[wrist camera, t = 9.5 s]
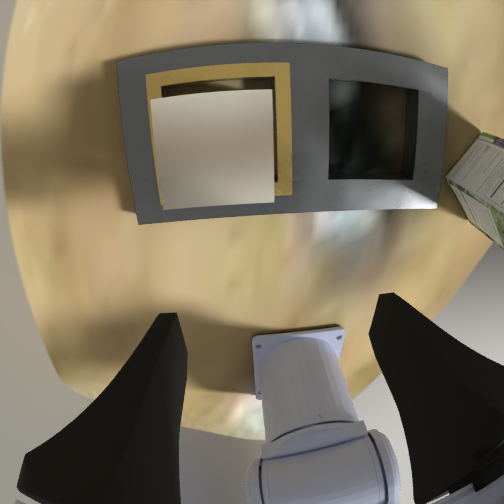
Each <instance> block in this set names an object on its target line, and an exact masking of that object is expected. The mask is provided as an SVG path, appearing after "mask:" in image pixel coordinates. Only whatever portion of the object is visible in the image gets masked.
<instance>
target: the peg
mask: <svg viewBox="0 0 504 504" xmlns="http://www.w3.org/2000/svg"><path fill="white" fill-rule="evenodd" d="M150 101H151V113H152V124H153V134H154V143H155V152H156V160H157V168H158V176H159V183H160V190H161V197H162V204H163V210H168V209H180V208H192V207H205V206H219V205H234V204H251V203H270V202H274V142H273V102H272V89H267V90H236V91H220V92H208V93H197V94H188V95H179V96H172V97H164V98H158V99H151V100H150Z"/></svg>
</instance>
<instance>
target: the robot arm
mask: <svg viewBox="0 0 504 504" xmlns="http://www.w3.org/2000/svg"><path fill="white" fill-rule="evenodd" d="M337 336H338V337H337ZM344 336H345V329H344V327H333V328H325V329H317V330H309V331H300V332H290V333H280V334H269V335H257V336H254V337H253V338H252V348H253V363H254V377H255V392H256V399H258V400H262V407H263V416H264V426H265V435H266V444H263V445H261V451H262V457H256V458H254V459H253V461H252V463H251V464H250V466H249V467H248V468H247V472H246V495H247V502H248V504H400V502H399V492H400V488H401V482H400V481H401V480H400V473H399V467H398V463H397V459H396V456H395V453H394V451H393V448H392V446H391V444H390V441H389V440H388V438H387V437H386V436H385V435H384V434H382V433H380V432H379V431H378V430H376V429H373V430H370V431H367V429H366V426H365V423H364V421H359V420H358V417H357V414H356V411H355V408H354V405H353V402H352V399H351V396H350V393H349V390H348V387H347V384H346V381H345V378H344V375H343V372H342V369H341V366H340V364H339V359H340V354H341V350H342V346H343V341H344ZM369 337H370V341H371V344H372V347H373V351H374V354H375V357H376V359H377V362H378V364H379V366H380V368H381V371H382V373H383V375H384V377H385V379H386V382H387V384H388V386H389V389H390V391H391V393H392V395H393V398H394V400H395V402H396V405H397V408H398V411H399V413H400V417H401V421H402V425H403V428H404V432H405V436H406V441H407V446H408V451H409V456H410V463H411V470H412V478H413V496H414V502H415V504H427V503H429V502H431V501H433V500H435V499H437V498H440V497H442V496H444V495H446V494H448V493H449V494H450V495H449V496H446V497H445V498H442V499H440V500H438V501H436V502H434V503H432V504H504V366H503V365H501V364H499V363H496V362H494V361H492V360H490V359H488V358H486V357H485V356H483V355H481V354H479V353H477V352H476V351H474V350H472V349H470V348H469V347H467V346H466V345H464V344H462V343H461V342H459V341H458V340H457V339H455V338H454V337H452V336H451V335H449V334H448V333H447V332H445V331H444V330H442V329H441V328H440V327H438V326H437V325H436V324H434V323H433V322H432V321H430V320H429V319H428V318H427V317H425V316H424V315H423V314H421V313H420V312H419V311H418V310H416V309H415V308H414V307H412V306H411V305H410V304H409V303H407V302H406V301H405V300H403V299H402V298H401V297H399V296H398V295H396V294H395V293H386V294H379V298H378V301H377V305H376V309H375V313H374V317H373V320H372V324H371V327H370V331H369ZM258 344H259V345H258ZM187 354H188V352H187V349H186V345H185V342H184V338H183V334H182V331H181V327H180V323H179V320H178V316H177V313H160V314H159V315H158V316H157V318H156V319H155V321H154V322H153V324H152V325H151V327H150V328H149V330H148V331H147V333H146V334H145V336H144V337H143V339H142V341H141V342H140V343H139V345H138V346H137V348H136V349H135V351H134V352H133V354H132V355H131V356H130V358H129V359H128V361H127V362H126V363H125V365H124V366H123V367H122V368H121V370H120V371H119V372H118V374H117V375H116V376H115V378H114V379H113V380H112V381H111V382H110V384H109V385H108V386H107V387H106V388H105V389H104V391H103V392H102V393H101V394H100V395H99V396H98V397H97V398H96V399H95V400H94V401H93V403H91V404H90V405H89V406H88V407H87V408H86V409H85V410H84V411H83V412H82V413H81V414H80V415H79V416H78V417H77V418H76V419H75V420H73V421H72V422H71V423H70V424H68V425H67V426H66V427H65V428H63V429H62V430H61V431H60V432H58V433H57V434H56V435H54V436H53V437H52V438H50V439H49V440H47V441H46V442H44V443H43V444H41V445H40V446H38V447H36V448H35V449H33V450H32V451H30V452H28V453H27V454H25V457H24V460H23V464H22V468H21V471H20V475H19V479H18V483H17V488H18V490H19V491H20V492H21V493H23V494H24V495H26V496H28V497H30V498H32V499H33V500H35V501H37V502H39V503H41V504H181V497H180V482H179V432H180V424H181V416H182V409H183V402H184V395H185V387H186V380H187ZM15 504H25V503H22V502H20V501H18V500H16V501H15Z"/></svg>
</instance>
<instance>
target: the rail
mask: <svg viewBox="0 0 504 504" xmlns="http://www.w3.org/2000/svg"><path fill="white" fill-rule="evenodd" d="M117 77H118V90H119V101H120V111H121V120H122V129H123V137H124V144H125V151H126V158H127V165H128V171H129V177H130V183H131V188H132V194H133V199H134V205H135V210H136V215H137V220H138V224H139V225H142V224H152V223H162V222H173V221H185V220H197V219H209V218H222V217H236V216H250V215H266V214H283V213H301V212H321V211H345V210H375V209H424V208H437V204H438V198H439V191H440V185H441V178H442V170H443V162H444V153H445V142H446V129H447V109H448V68H445V67H442V66H438V65H435V64H431V63H427V62H423V61H419V60H415V59H411V58H407V57H402V56H397V55H392V54H387V53H382V52H376V51H370V50H364V49H356V48H349V47H340V46H330V45H318V44H302V43H239V44H223V45H211V46H201V47H192V48H185V49H178V50H171V51H165V52H159V53H153V54H148V55H143V56H138V57H134V58H129V59H125V60H121V61H117ZM267 78H271V89H272V102H273V142H274V202H270V203H251V204H234V205H219V206H205V207H192V208H180V209H168V210H163V204H162V197H161V190H160V183H159V176H158V168H157V160H156V152H155V143H154V134H153V124H152V113H151V101H150V100H151V99H158V98H164V97H168V90H167V87H170V86H177V85H185V84H193V83H202V82H212V81H224V80H239V79H267ZM329 80H337V81H349V82H359V83H368V84H376V85H384V86H390V87H397V88H403V89H407V99H406V130H405V146H404V159H403V170H402V174H384V173H328V171H329Z"/></svg>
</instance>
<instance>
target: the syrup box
mask: <svg viewBox="0 0 504 504" xmlns="http://www.w3.org/2000/svg"><path fill="white" fill-rule="evenodd" d="M445 179H446V181H447V182H448V184H449V186H450V187H451V189H452V191H453V192H454V194H455V196H456V198H457V199H458V201H459V203H460V205H461V207H462V208H463V210H464V212H465V214H466V216H467V218H468V220H469V222H470V223H471V224H472V225H473V226H475V227H476V228H477V229H478V230H480V231H481V232H482V233H484V234H485V235H486V236H487V237H488V238H490V239H491V240H492V241H493V242H495V243H496V244H497V245H498V246H500V248H502V249H503V250H504V139H501V138H499V137H496V136H493V135H490V134H488V133H485V132H483V133H481V134H480V136H479V137H478V138H477V139H476V140H475V142H474V143H473V144H472V145H471V147H470V148H469V149H468V150H467V151H466V153H465V154H464V155H463V156H462V157H461V159H460V160H459V161H458V162H457V164H456V165H455V166H454V167H453V168H452V170H451V171H450V172H449V173H448V174H447V175H446V177H445Z"/></svg>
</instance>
